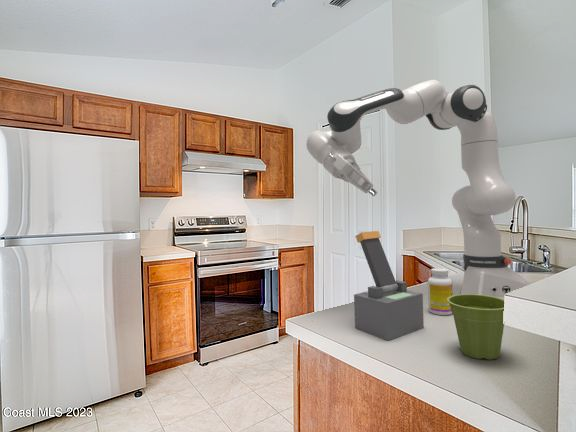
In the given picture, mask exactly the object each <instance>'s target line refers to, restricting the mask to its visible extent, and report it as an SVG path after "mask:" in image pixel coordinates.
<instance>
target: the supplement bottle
mask: <svg viewBox="0 0 576 432" xmlns="http://www.w3.org/2000/svg"><path fill="white" fill-rule="evenodd" d="M430 274H431V277H429V278H428V280H427V292H428V293H427V295H428V296H427V297H428V298H427V300H428V311H429V312H430V313H432V314H434V315H438V316H448V315H449V316H450V315H453V313H452V311H451V307H450V303H448V302H447V298H448V297H450V296H453V295H454V294H453V280H452V279H451V278H449V277H448V275H449V270H448V269H447V268H437V267H435V268H434V267H433V268H430Z"/></svg>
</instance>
